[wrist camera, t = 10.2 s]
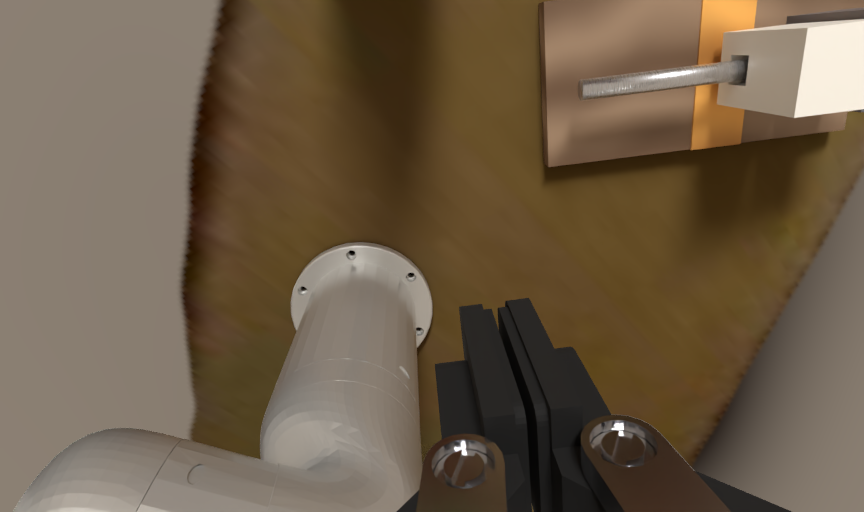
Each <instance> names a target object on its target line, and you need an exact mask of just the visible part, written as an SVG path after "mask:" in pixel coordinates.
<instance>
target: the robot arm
mask: <svg viewBox="0 0 864 512" xmlns="http://www.w3.org/2000/svg"><path fill="white" fill-rule="evenodd" d="M350 250H352V251H354V252H355V253H354V254H351V253H350V252H349V251H350ZM408 273H414V274H413V275H409V274H408ZM302 287H305V288H306V289H303V288H302ZM459 311H460V321H461V330H462V339H463V348H464V358H465V360H463V361H455V362H447V363H439V364H435V371H436V381H437V392H438V402H439V413H440V423H441V434H442V440H440V441H439V442H438V443H436V444H435V445H433V446H432V448H431V449H430V450H429V451H428V452H427V454H426V457H425V459H424V462H423V465H422V455H421V440H420V419H419V395H418V369H417V348H418V347H419V345H420V344H421V343H422V341H423V340H424V338H425V337H426V335H427V332H428V330H429V327H430V324H431V319H432V298H431V292H430V289H429V286H428V284H427V281H426V279H425V278H424V276H423V274H422V273H421V271H420V270H419V269H418V268H417V267H416V266H415V264H414V263H413V262H412V261H411V260H409V259H408V258H407V257H405V256H404V255H402V254H401V253H399V252H397V251H395V250H393V249H391V248H389V247H386V246H382V245H379V244H375V243H365V242H357V243H346V244H343V245H339V246H335V247H333V248H330V249H328V250H326V251H324V252H322V253H321V254H319V255H318V256H317V257H315V258H314V259H313V260H311V261H310V263H309V264H308V265H307V266H306V267H305V268H304V269H303V271H302V273H301V274H300V276H299V278H298V280H297V282H296V284H295V286H294V289H293V293H292V298H291V316H292V320H293V324H294V327H295V329H296V331H297V332H296V334H295V337H294V339H293V342H292V345H291V347H290V350H289V352H288V355H287V357H286V360H285V363H284V365H283V368H282V370H281V373H280V376H279V378H278V381H277V383H276V386H275V389H274V391H273V394H272V397H271V399H270V402H269V404H268V407H267V410H266V413H265V416H264V419H263V423H262V428H261V436H260V454H261V460H260V459H256V458H252V457H249V456H245V455H242V454H238V453H234V452H231V451H227V450H223V449H220V448H216V447H212V446H209V445H205V444H201V443H198V442H194V441H190V440H187V439H181V438H177V437H174V436H170V435H166V434H162V433H157V432H152V431H148V430H143V429H133V428H113V429H105V430H102V431H98V432H95V433H91V434H88V435H87V436H85V437H83V438H81V439H79V440H77V441H75V442H73V443H72V444H71V445H69V446H68V447H67V448H65V449H64V450H63V451H62V452H60V453H59V454H58V455H57V456H55V457H54V458H53V460H52V461H51V462H50V463H49V464H48V465H47V466H46V467H45V468H44V469H43V470H42V471H41V472H40V473H39V475H38V476H37V477H36V479H35V480H34V481H33V482H32V484H31V485H30V486H29V488H28V489H27V490H26V492H25V493H24V495H23V496H22V498H21V499H20V501H19V502H18V504H17V506H16V507H15V509H14V511H13V512H532V506H533V510H534V512H791V511H789V510H786V509H784V508H782V507H779V506H777V505H775V504H772V503H770V502H768V501H765V500H763V499H760V498H758V497H756V496H753V495H751V494H749V493H746V492H744V491H742V490H739V489H737V488H735V487H732V486H730V485H727V484H725V483H723V482H720V481H718V480H716V479H713V478H711V477H708V476H706V475H704V474H701V473H699V472H697V471H694V470H693V469H692V468H691V467H690V465H689V464H688V463H687V462H686V461H685V460H684V459H683V458H682V457H681V456H680V454H679V453H678V452H677V451H676V450H675V449H674V448H673V447H672V446H671V444H670V443H669V442H668V441H667V440H666V439H665V438H664V437H663V436H662V434H661V433H660V432H658V431H657V430H656V429H655V428H654V427H653V426H651V425H650V424H648V423H646V422H644V421H642V420H640V419H637V418H633V417H630V416H625V415H611V413H610V411H609V410H608V408H607V406H606V404H605V403H604V401H603V399H602V397H601V395H600V394H599V392H598V390H597V388H596V387H595V385H594V383H593V381H592V380H591V378H590V376H589V374H588V372H587V371H586V369H585V367H584V365H583V364H582V362H581V360H580V358H579V357H578V355H577V353H576V351H575V350H574V349H573V348H572V347H565V348H557V349H554V347H553V345H552V343H551V341H550V339H549V337H548V335H547V333H546V331H545V329H544V327H543V325H542V323H541V321H540V319H539V317H538V315H537V313H536V311H535V309H534V307H533V305H532V303H531V301H530V299H529V298H525V299H517V300H509V301H506V302H505V307H501V308H498V323H499V330H498V327H497V324H496V321H495V318H494V315H493V312H492V309H486V310H483V306H482V304H478V305H470V306H462V307H459ZM418 327H420V328H419V329H418ZM531 503H532V506H531Z"/></svg>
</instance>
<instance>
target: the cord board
mask: <svg viewBox="0 0 864 512" xmlns="http://www.w3.org/2000/svg"><path fill="white" fill-rule="evenodd" d="M853 8H864V0H554V1H546V2H542V3H539V29H540V60H541V91H542V122H543V153H544V164H545V165H546V166H548V167H554V166H562V165H570V164H578V163H586V162H594V161H602V160H609V159H617V158H625V157H633V156H641V155H649V154H657V153H665V152H673V151H680V150H688V149H690V150H697V149H705V148H713V147H721V146H728V145H736V144H741V143H744V142H751V141H759V140H767V139H775V138H783V137H791V136H799V135H807V134H815V133H822V132H830V131H838V130H844V128H845V123H846V118H847V112H848V111H845V112H837V113H829V114H821V115H813V116H805V117H798V118H792V117H786V116H780V115H774V114H769V113H763V112H757V111H752V110H746V109H740V108H735V107H729V106H723V105H718V104H717V96H718V86H719V83H718V84H710V85H702V86H695V87H687V88H679V89H671V90H663V91H655V92H647V93H639V94H631V95H623V96H615V97H608V98H600V99H592V100H584V101H580V100H579V97H578V82H579V80H583V79H591V78H599V77H607V76H615V75H622V74H630V73H638V72H646V71H654V70H662V69H670V68H678V67H686V66H694V65H702V64H709V63H717V62H721V54H722V44H723V33H724V32H731V31H739V30H747V29H755V28H763V27H771V26H778V25H786V22H787V16H794V15H802V14H810V13H818V12H826V11H834V10H842V9H853Z"/></svg>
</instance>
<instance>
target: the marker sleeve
mask: <svg viewBox="0 0 864 512" xmlns="http://www.w3.org/2000/svg"><path fill="white" fill-rule="evenodd" d="M741 59H749V60H748V69H747V78H746V80H742V81H734V82H726V83H719V86H718V96H717V104H718V105H723V106H729V107H735V108H740V109H746V110H752V111H757V112H763V113H769V114H774V115H780V116H786V117H792V118H798V117H805V116H813V115H821V114H829V113H837V112H845V111H853V110H861V109H864V19H856V20H841V21H826V22H811V23H796V24H786V25H778V26H771V27H763V28H755V29H747V30H739V31H731V32H724V33H723V44H722V54H721V62H725V61H733V60H741Z"/></svg>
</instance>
